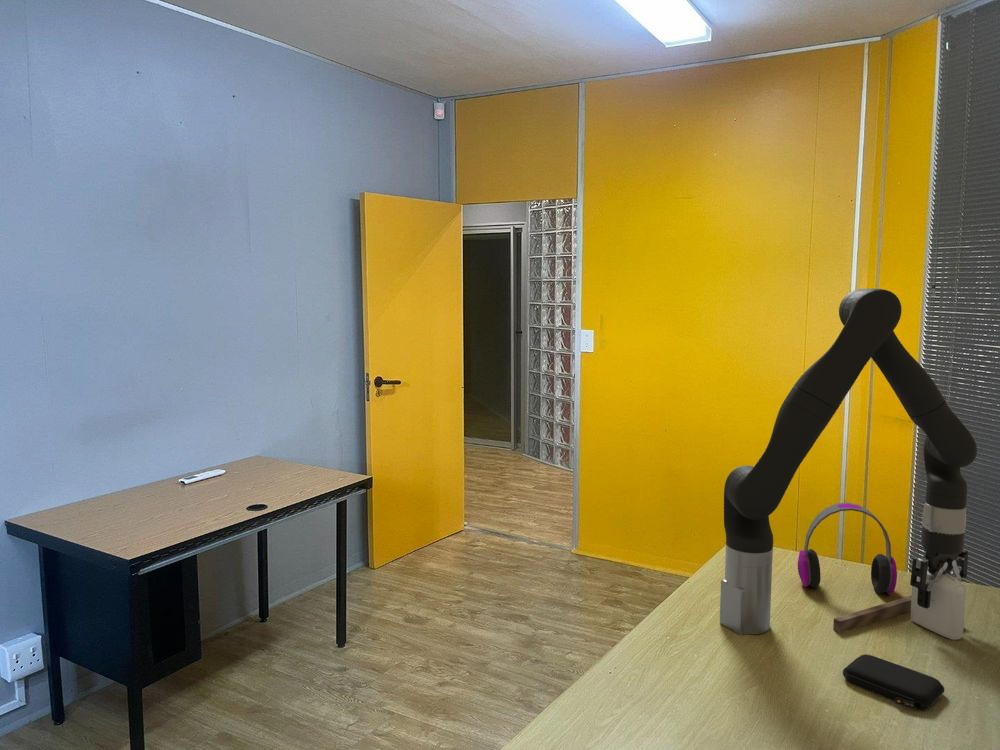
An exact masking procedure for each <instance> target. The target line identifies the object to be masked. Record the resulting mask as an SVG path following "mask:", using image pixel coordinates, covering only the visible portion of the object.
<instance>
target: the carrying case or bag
mask: <svg viewBox="0 0 1000 750" xmlns="http://www.w3.org/2000/svg"><path fill="white" fill-rule="evenodd" d="M842 676H843V678H844V679H846V681H847V682H848V683H849V684H851V685H854V686H857V687H859V688H860V689H864V690H866V691H868V692H872V693H874V694H877V695H879V696H881V697H884V698H886V699H889V700H892V701H894V702H895V703H897V704H899V705H903V706H908V707H910V708H913V709H915V710H920V711H926V710H928V709H930V708H932V707H933V706H934V704H935V703H936V702H937V701H938V700H939V699H940V697H942V695H944V693H945V687H944V685H943V683H941V681H939V680H938V679H937V678H935V677H933V676H931V675H928V674H925V673H923V672H920V671H916V670H914V669H911V668H908V667H906V666H903V665H900V664H898V663H894V662H891V661H888V660H885V659H882V658H881V657H877V656H875V655H872V654H866V653H865V654H862V655H859V656H857V658H855V659H854V660H853V661H851V662H850V663H849V664H848V665H847V666H845V667H844V668H843V670H842Z"/></svg>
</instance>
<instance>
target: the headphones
mask: <svg viewBox="0 0 1000 750" xmlns="http://www.w3.org/2000/svg"><path fill="white" fill-rule="evenodd" d="M845 511H849V512H850V511H854V512H859V513H863V514H865V515H867V516H869V517H871V518H872V519H874V521H876V523H878V525H879V527H880V529H881V530H882V534H883V537H884V539H885V555H884V554H883V553H877V554H876V555H875V556H874V558H873V560H872V562H871V566H870V567H871V569H870V579H871V584H872V587H873V590H874V591H876V592H877V593H878V594H883V593H885V592H886V594H889V595H890V594H892V593H894V592H895V590H896V586H897V580H898V570H897V569H898V568H897V563H896V560H895V558H894V556H892V548H891V541H890V538H889V533H888V531H887V530H886V529H885V527H884V525H883V524H882V522H881V521H880V520H879V518H878V517H876V516H875V515H874V514H873V513H872V512H871V511H870V510H868V509H867V508H866V507H863V506H862V505H859V504H857V503H856V504H855V503H851V502H839V503H835V504H831V505H829V506H827V507H825V508H823V510H821V511H820V512H819V513H818V514H816V516H815V517H814V519H813V520H812V522H811V523H810V525H809V526H808V528H807V532H806V534H805V540H804V546H803V549H800V550H799V554H798V559H797V572H798V576H799V579H800V581H801V584H802V587H804V588H808V586H810V587H811V588H813V589H816V588H818V587H819V586H820V583H821V566H820V565H821V564H820V560H819V555H818V554H817V552H816V551H815V550H814V548H813V549H812V548H809V545H810V544H809V543H810V539H811V537H812V535H813V533H814V532H815V529H816V528H817V527H818V526H819V524H820V523H822V522H823V521H824V520H825V519H827V518H828V517H829V516H831V515H833V514H836V513H840V512H845Z"/></svg>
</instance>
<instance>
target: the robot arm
mask: <svg viewBox="0 0 1000 750" xmlns="http://www.w3.org/2000/svg"><path fill="white" fill-rule="evenodd" d="M902 310H903V309H902V303H901V300H900V299H899V297H898V296H897V294H895V293H894V292H892V291H891V290H887V289H883V288H861V289H859V288H858V289H855V290H853V291H850V292H849V293H847V294H846V295H845V296H844V297H843V298H842V300H841V302H840V303H839V307H838V316H839V319H840V322H841V323H842V325H843V327H842V329H841V331H840V332H839V335H838V336H837V338H836V339H835V341H834V342H833V343H832V345H831V346H830V348H828V350H827V351H826V352H825V353H823V354H822V355H821V356H820V357H819V358H818V359H817V360H816V361H815V362H814V363H812V364H811V365H810V366H809V367H808V368H807V369H806V370H805V371H804V372H803V374H802V375H800V377H799V378H798V379H797V381H796V382H795V384H793V386H792V388H791V389H790V391H789V393H788V394H787V396H786V397H785V399H784V400H783V401H782V404H781V405H780V407H779V410H778V411H777V412H778V413H777V415H776V419H775V421H774V425H773V429H772V432H771V435H770V438H769V442H768V444H767V446H766V448H765V450H764V452H763V453H762V455H760V456H761V457H760V458H759V459H758V460H757V462H756V463H755V464H754V466H753V465H741V466H738V467H736V468H734V469H733V470H732V471H731V472H730V473H729V474H728V476H727V477H726V479H725V483H724V488H723V526H724V527H723V528H724V531H725V532H724V533H725V555H724V556H725V558H724V560H725V561H724V578H723V579H721V580H720V597H719V598H720V601H719V603H720V604H719V623H720V624H721V625H723V626H725V627H727V628H728V629H730V630H731V631H733V632H735V633H737V634H738V635H759V634H764V633H767V632H768V631H769V630H770V629H771V628H770V627H771V609H772V608H771V607H772V605H771V604H772V603H771V602H772V581H773V576H772V575H773V556H774V554H773V553H774V534H773V531H772V528H771V523H770V515H771V514H773V513H774V512H775V511H776V509H777V508H778V506H779V505H780V503H781V502H782V500H783V497H784V496H785V494H786V491H787V490H788V488H789V485H790V484H791V483H792V480H793V478H794V476H795V474H796V472H797V470H798V469H799V467H800V466H801V464H802V462H803V461H804V460H805V458H806V457H807V456H808V454H809V452H810V451H811V449H812V448H813V446H814V445H815V443H816V442H817V440H818V439H819V437H820V436H821V434H822V433H823V431H824V430H825V429H826V427H828V425H829V423H830V422H831V420H832V418H833V417H834V416H835V414H836V412H837V411H838V409H839V407H840V406H841V404H842V402H843V401H844V399H845V398H846V396H847V395H848V393H849V391H850V390H851V389H852V387H853V385H854V384H855V383H856V382H857V381H856V380H857V379H858V378H859V376H860V374H861V373H862V372H863V369H864V367H865V366H866V365H867V364H868V363H869V361H870V360H871V359H872V361H873V362H874V363H875V365H876V366H877V368H878V369H879V370H880V372H881V374H883V377H884V378H885V380H886V381H887V382H888V384H889V385H890V387H891V389H892V391H893V392H894V393H895V395H896V397H897V399H898V400H899V403H900V404H901V406H902V407H903V408H904V410H905V412H906V414H907V415H908V417H909V418H910V420H911V421H912V423H914V424H915V426H916V427H918V428H920V430H922V431H923V432H924V434H925V435H926V436H925V438H924V442H923V460H924V461H923V462H924V469H925V474H926V489H925V500H924V506H923V510H922V518H921V520H922V521H921V533H920V546H922V548H923V549H924V550H925V552H924V555H923V557H922V558H920V557H917V556H914V557H913V559H912V566H911V574H910V581H909V582H910V583H909V584H910V586H911V587H912V586H914V587H916V588H918V597H917V598H918V599H917V604H918V605H919V606H921V607H923V608H929V607H930V598H931V591H930V590H931V588H932V586H933V584H934V583H935V582H938V580H939V578H940V576H941V575H943V574H944V575H945V574H946V573H947V574H949V575H951V576H953V577H954V578H956V579H957V580H959V581H960V582H961V583H962V579H966V578H967V576H968V564H969V562H968V561H969V551H968V550H966V549H965V548H964V547H965V539H966V538H965V537H966V529H967V528H966V525H967V500H968V499H967V497H968V483H967V481H966V480H965V478H964V477H963V475H962V473H961V472H962V471H961V468H966V467H968V466H969V465H971V464H972V463H973V462H974V461H975V460H976V458H977V456H978V455H977V454H978V446H977V443H976V441H975V438H974V437H973V435H972V434H971V432H970V431H969V430H968V428H967V427H966V426H965V424H964V423H963V421H961V420H960V419H959V417H958V416H957V415H956V414H955V413H954V412H953V410H952V409H951V407H949V405H948V403H947V401H946V399H945V397H944V395H943V394H942V393H941V391H940V389H939V388H938V386H937V384H936V383H935V381H934V380H933V378H932V377H931V376H930V375H929V373H928V372H927V371H926V370H925V368H923V367H922V366H921V364H920V363H919V362H918V361H917V360H916V359H915V358H914V357H913V356H912V355H911V353H910V352H909V351H908V350H907V348H905V346H904V345H903V344H902V343H901V341H900V340H899V338H898V336H897V335H896V333H895V331H894V330H895V329H896V327H897V326H898V324H899V323H900V321H901V317H902ZM959 567H960V568H961V570H960V569H959ZM927 570H928V572H929V573H930V574H932V575H933V576H932V575H929V574H927ZM917 576H918V577H919V579H918V581H917ZM926 579H928V580H929V581H928V583H927V584H926Z"/></svg>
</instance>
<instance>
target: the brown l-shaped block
mask: <svg viewBox="0 0 1000 750" xmlns="http://www.w3.org/2000/svg"><path fill="white" fill-rule="evenodd" d="M911 598H912V594H911V595H909V596H905V597H901V598H898V599H895V600H891V601H889V602H885V603H881V604H877V605H875V606H871V607H868V608H864V609H861V610H857V611H854V612H851V613H847V614H845V615H841V616H837V617H834V618H833V626H832V627H833V629H832V630H833V631H834V630H835V632H836V633H838V634H840V633H845V632H848V631H851V630H854V629H857V628H861V627H863V626H867V625H870V624H873V623H876V621H877V622H880V621H883V620H886V619H887V620H888V619H889V618H893V617H897V616H899V615H898V614H900V615H902V613H903V614H906V613H908V612H909V613H910V612H911ZM905 612H906V613H905ZM847 630H848V631H847Z"/></svg>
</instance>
